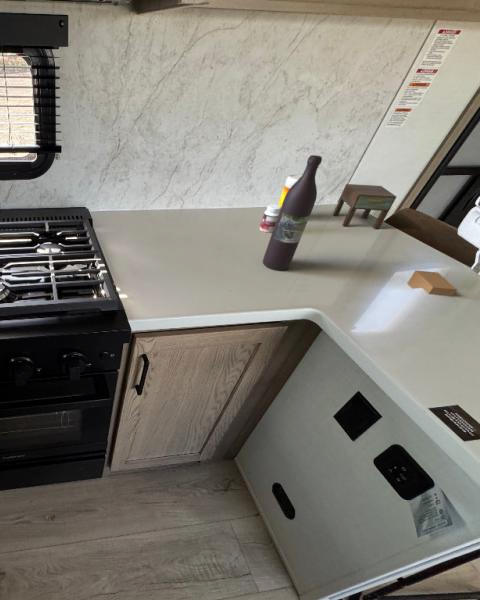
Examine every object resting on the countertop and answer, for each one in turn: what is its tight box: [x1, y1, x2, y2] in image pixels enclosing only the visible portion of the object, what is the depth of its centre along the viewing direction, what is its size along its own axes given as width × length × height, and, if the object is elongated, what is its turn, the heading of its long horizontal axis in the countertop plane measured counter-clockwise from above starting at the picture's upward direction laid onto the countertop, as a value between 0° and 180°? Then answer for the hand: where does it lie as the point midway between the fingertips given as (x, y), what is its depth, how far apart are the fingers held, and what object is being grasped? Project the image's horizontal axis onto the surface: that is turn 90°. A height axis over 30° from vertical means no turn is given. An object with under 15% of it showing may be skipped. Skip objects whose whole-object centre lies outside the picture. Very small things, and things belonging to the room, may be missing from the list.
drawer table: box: [332, 183, 397, 230], centre depth 121 cm, size 12×11×12 cm
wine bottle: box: [262, 154, 323, 271], centre depth 91 cm, size 7×7×30 cm
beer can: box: [277, 174, 303, 207], centre depth 123 cm, size 6×6×15 cm
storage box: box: [407, 269, 458, 297], centre depth 87 cm, size 8×5×4 cm, turn 167°
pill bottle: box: [259, 203, 281, 233], centre depth 117 cm, size 5×5×8 cm
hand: (479, 273), depth 75 cm, fingers closed
